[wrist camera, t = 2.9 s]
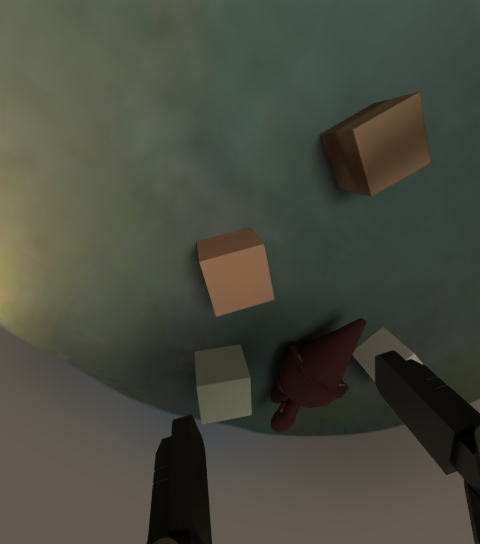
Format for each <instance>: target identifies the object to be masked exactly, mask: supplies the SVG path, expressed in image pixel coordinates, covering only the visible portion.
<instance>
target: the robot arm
mask: <svg viewBox="0 0 480 544" xmlns="http://www.w3.org/2000/svg"><path fill="white" fill-rule="evenodd" d="M375 383H376V386H377V389H378V391H379V392H380V394H381V395H382V397H383V398H384V399H385V400H386V402H387V403H388V404H389V405H390V406H391V408H392V409H393V410H394V411H395V413H396V414H397V415H398V416H399V417H400V419H401V420H402V421H403V422H404V424H405V425H406V426H407V427H408V428H409V430H410V431H411V432H412V433H413V435H414V436H415V437H416V438H417V439H418V441H419V442H420V443H421V444H422V445H423V447H424V448H425V449H426V450H427V452H428V453H429V454H430V455H431V457H432V458H433V459H434V460H435V461H436V463H437V464H438V465H439V466H440V467H441V469H442V470H443V471H444V472H445V474H446V475H448V474H451V473H453V472H456V471H458V472H459V473H460V475H461V476H462V477H463V478H464V487H465V493H466V498H467V504H468V509H469V515H470V520H471V526H472V532H473V537H474V543H475V544H480V413H479V412H477V411H476V410H475V409H474V408H473V407H472V406H471V405H470V404H468V403H467V402H466V401H465V400H464V399H463V398H462V397H460V396H459V395H458V394H457V393H456V392H455V391H454V390H452V389H451V388H450V387H449V386H447V385H446V383H444V382H443V381H442V380H441V379H440V378H438V377H437V376H436V375H435V374H434V373H433V372H432V371H431V370H430V369H428V368H427V367H426V366H425V365H423V364H421V363H419V362H417V361H415V360H413V359H409V360H405V359H404V358H403V357H402V356H401V355H400V354H399V353H397V352H396V351H394V350H392V351H388V352H385V353H382V354H379V355H376V356H375ZM155 458H156V459H155V469H154V470H155V472H154V479H153V483H154V485H153V490H152V500H151V512H150V523H149V534H148V541H147V544H212V540H211V539H212V537H211V524H210V511H209V496H208V483H207V469H206V456H205V448H204V443H203V439H202V436H201V434H200V432H199V430H198V427H197V425H196V423H195V420H194V418H193V416H192V414H190V415H187V416H184V417H181V418H178V419H175V420H173V422H172V436H170V437H168V438H164V439H162V441H161V443H160V445H159V448H158V450H157V452H156V457H155Z"/></svg>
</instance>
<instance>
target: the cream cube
mask: <svg viewBox="0 0 480 544" xmlns="http://www.w3.org/2000/svg"><path fill="white" fill-rule="evenodd" d="M392 350H394V351H396V352H397V353H399V354H400V355H401V356H402V357H403V358H404V359H405V360H409V359H413V360H415V361H417V362H419V363H421V364H422V362H421V361H420V360H419V359H418V358H417V356H416V355H415V354H414V353H413V352H412V351H411V350H410V349H408V348H407V347H406V346H405V345H404V344H403V343H402V342H400V341H399V340H398V339H397V338H396V337H395V336H394V335H392V334H391V333H390V332H389V331H388V330H387V329H386V328H384V327H382V328H381V329H380V330H378V331H377V332H376V333H375V334H373V335H372V336H371V337H370V338H369V339H367V340H366V341H365V342H364V343H362V344H361V345H360V346H359V347H357V348H356V349H355V350H354V352H353V354H352V355H353V356H354V358H355V359H356V360H357V361H358V362H359V364H360V365H361V366H362V367H363V368H364V370H365V371H366V372H367V373H368V374H369V376H370V377H371V378H372V379H373V380H374V382H375V356H376V355H379V354H382V353H385V352H388V351H392Z"/></svg>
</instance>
